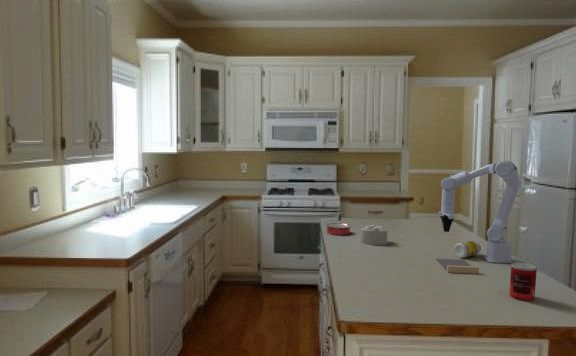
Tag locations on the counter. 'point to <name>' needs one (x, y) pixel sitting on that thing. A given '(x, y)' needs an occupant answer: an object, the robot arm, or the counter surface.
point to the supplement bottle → (467, 249)
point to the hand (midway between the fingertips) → (446, 231)
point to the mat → (457, 266)
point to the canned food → (523, 281)
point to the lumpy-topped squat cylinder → (374, 235)
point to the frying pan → (338, 228)
